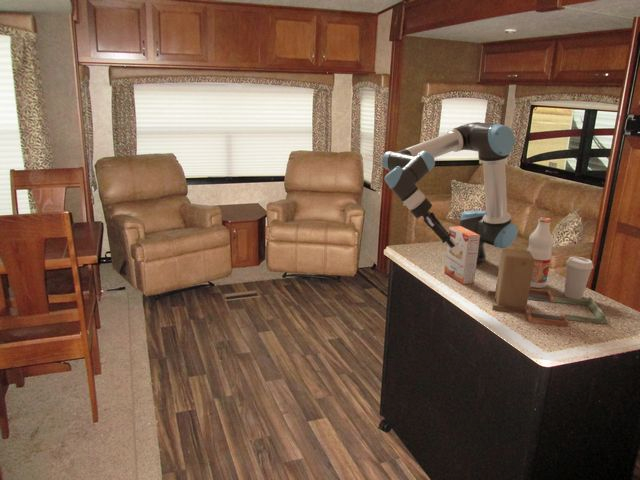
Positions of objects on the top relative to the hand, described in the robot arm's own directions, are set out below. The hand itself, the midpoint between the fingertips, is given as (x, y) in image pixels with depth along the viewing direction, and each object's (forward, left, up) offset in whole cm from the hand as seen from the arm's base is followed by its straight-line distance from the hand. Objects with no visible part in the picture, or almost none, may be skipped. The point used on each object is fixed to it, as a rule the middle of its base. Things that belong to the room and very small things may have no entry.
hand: (458, 252), depth 182 cm
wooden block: (0, +20, -18) cm, 27 cm away
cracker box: (-22, +3, -18) cm, 29 cm away
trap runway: (0, +31, -18) cm, 36 cm away
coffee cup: (-16, +46, -18) cm, 52 cm away
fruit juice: (-25, +33, -18) cm, 46 cm away
